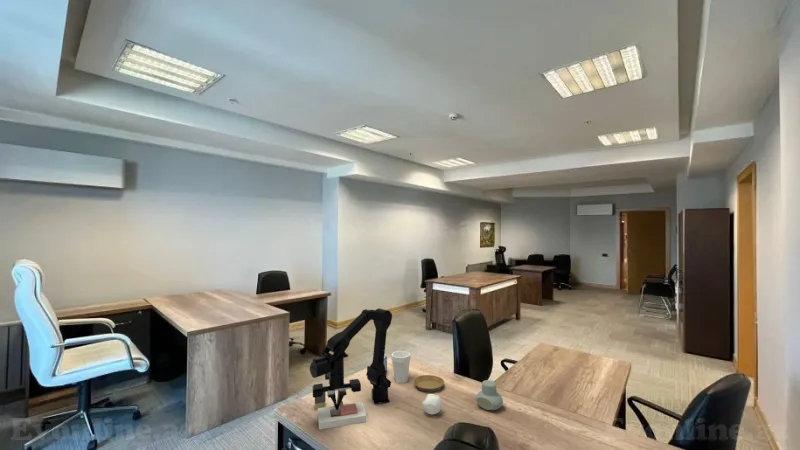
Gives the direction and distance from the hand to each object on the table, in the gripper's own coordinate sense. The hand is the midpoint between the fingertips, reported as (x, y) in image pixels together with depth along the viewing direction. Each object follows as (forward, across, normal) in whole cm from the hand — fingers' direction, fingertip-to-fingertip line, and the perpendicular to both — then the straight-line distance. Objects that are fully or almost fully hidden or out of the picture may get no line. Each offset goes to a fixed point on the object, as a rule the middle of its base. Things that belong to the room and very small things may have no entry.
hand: (336, 409), depth 134 cm
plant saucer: (+4, -45, -16) cm, 48 cm away
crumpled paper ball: (+4, -38, +7) cm, 39 cm away
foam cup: (+4, -34, -26) cm, 43 cm away
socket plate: (+4, -2, 0) cm, 4 cm away
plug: (+4, +6, -12) cm, 14 cm away
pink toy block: (+1, -5, 0) cm, 5 cm away
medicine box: (+4, -26, -36) cm, 44 cm away
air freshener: (+4, -63, +9) cm, 63 cm away
